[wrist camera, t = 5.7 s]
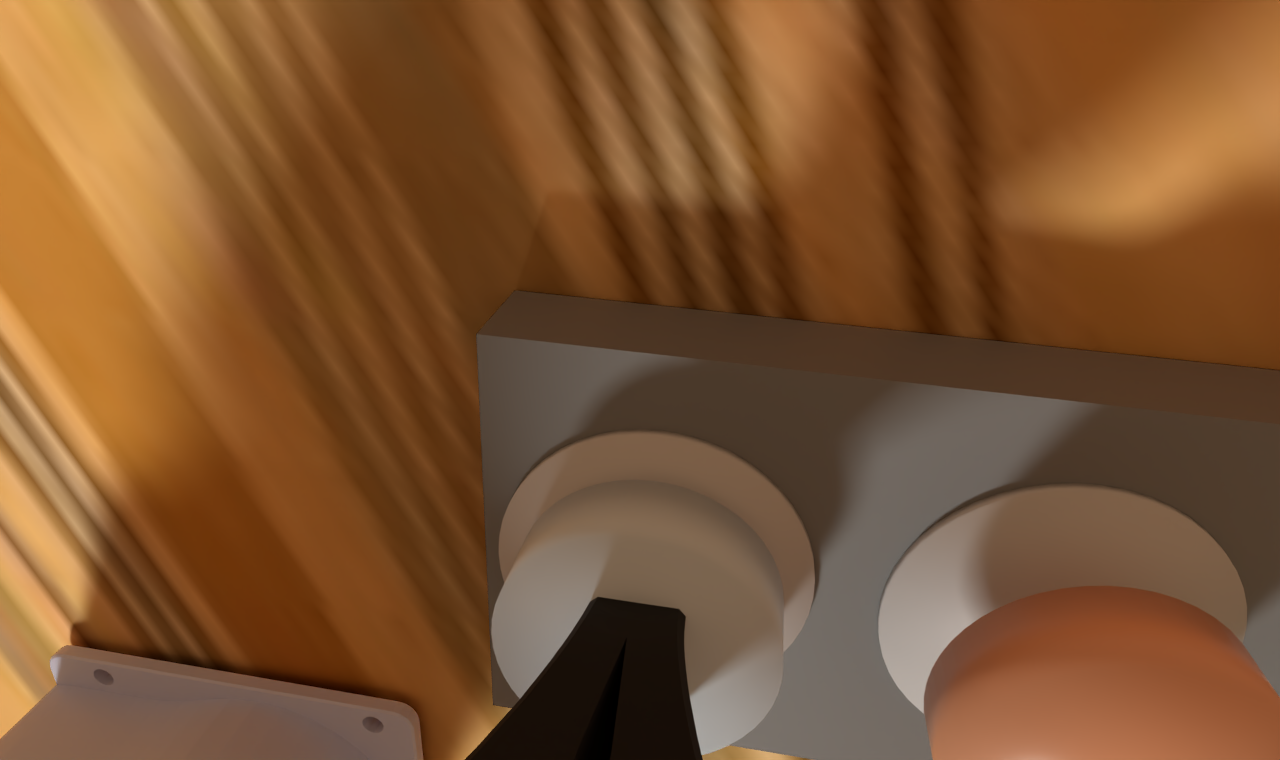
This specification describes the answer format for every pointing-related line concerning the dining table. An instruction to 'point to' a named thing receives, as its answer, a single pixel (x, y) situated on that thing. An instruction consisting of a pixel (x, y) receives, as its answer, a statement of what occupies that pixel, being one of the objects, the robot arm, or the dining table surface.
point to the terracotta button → (1100, 683)
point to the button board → (891, 482)
